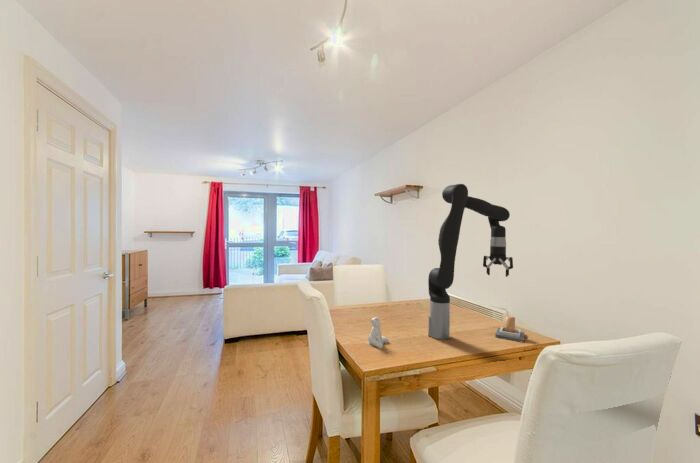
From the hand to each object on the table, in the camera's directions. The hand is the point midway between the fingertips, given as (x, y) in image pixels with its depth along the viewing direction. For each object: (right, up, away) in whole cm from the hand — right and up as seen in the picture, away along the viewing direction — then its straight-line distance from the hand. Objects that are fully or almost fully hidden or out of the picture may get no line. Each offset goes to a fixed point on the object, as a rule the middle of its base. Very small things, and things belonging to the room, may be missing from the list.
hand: (497, 275), depth 157 cm
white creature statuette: (-67, -28, -23) cm, 76 cm away
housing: (+1, -28, -11) cm, 30 cm away
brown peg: (+1, -27, -11) cm, 29 cm away
